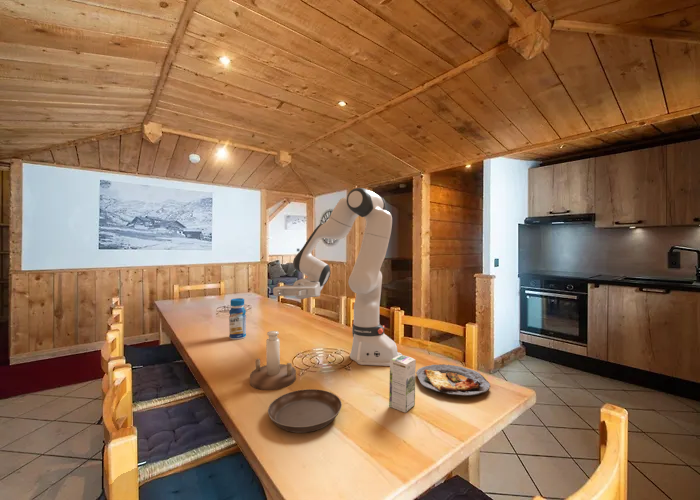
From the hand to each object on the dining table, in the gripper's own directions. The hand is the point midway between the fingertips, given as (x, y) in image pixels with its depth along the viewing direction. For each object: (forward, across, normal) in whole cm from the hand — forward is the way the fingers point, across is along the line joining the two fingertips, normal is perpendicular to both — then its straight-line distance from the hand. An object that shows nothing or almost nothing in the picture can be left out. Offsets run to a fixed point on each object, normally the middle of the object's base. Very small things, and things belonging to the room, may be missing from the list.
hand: (287, 293), depth 128 cm
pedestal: (+16, +2, +28) cm, 33 cm away
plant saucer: (+34, +23, +30) cm, 51 cm away
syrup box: (+21, +49, +31) cm, 61 cm away
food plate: (0, +63, +32) cm, 70 cm away
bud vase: (+16, +2, +26) cm, 31 cm away
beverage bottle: (-22, -43, +27) cm, 55 cm away
